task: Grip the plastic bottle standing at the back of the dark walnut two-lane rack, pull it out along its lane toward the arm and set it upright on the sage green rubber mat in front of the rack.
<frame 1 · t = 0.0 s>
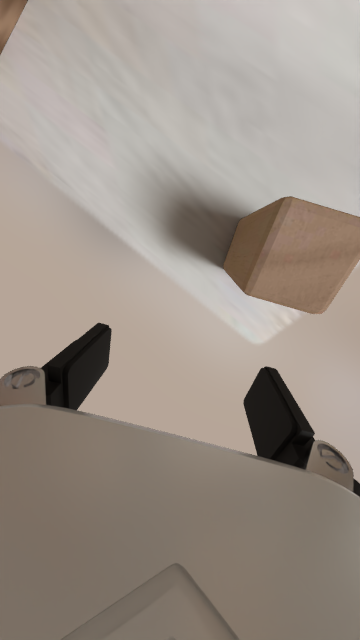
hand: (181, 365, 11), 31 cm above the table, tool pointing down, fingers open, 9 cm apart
block: (253, 251, 37), on the table
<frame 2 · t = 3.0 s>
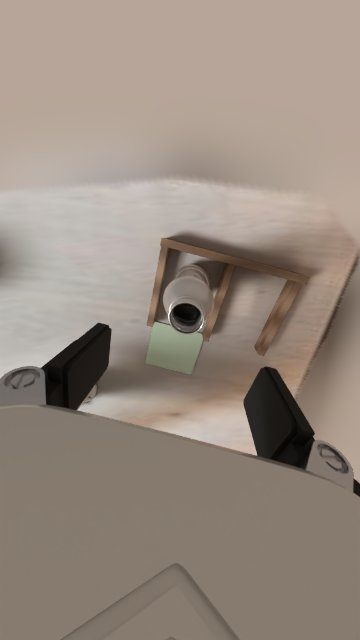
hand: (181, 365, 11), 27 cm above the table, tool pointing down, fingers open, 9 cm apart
plastic bottle: (192, 279, 36), on the table
bottle rack: (216, 301, 37), on the table
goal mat: (173, 349, 43), on the table
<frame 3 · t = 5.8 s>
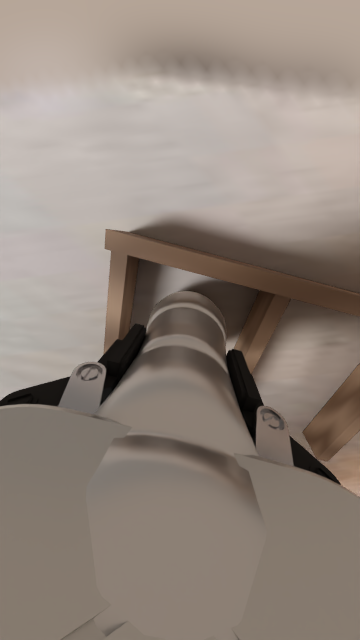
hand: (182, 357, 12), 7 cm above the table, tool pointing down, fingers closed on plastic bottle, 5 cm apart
plastic bottle: (188, 317, 18), on the table, touching gripper
bottle rack: (236, 357, 19), on the table
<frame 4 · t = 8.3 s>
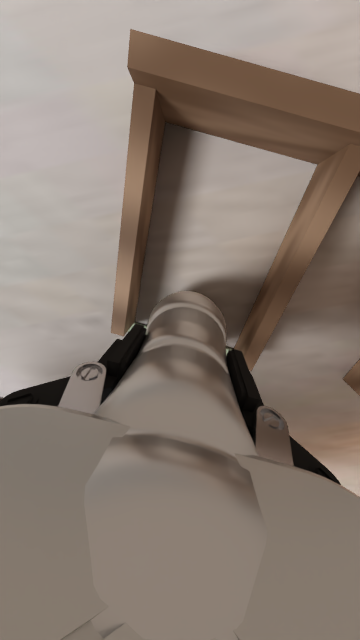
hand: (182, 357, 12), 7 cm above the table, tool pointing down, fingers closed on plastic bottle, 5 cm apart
plastic bottle: (188, 317, 18), on the table, touching gripper
bottle rack: (273, 278, 16), on the table
when the fingers open (7 cm above the table, at t = 10.9 s): plastic bottle stays where it is, resting on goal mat.
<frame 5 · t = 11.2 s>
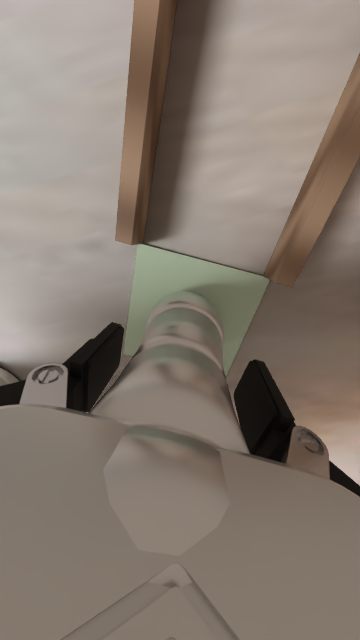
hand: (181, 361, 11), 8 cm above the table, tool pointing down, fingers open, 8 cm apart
plastic bottle: (187, 317, 18), resting on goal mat
bottle rack: (319, 166, 13), on the table
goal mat: (187, 320, 18), on the table
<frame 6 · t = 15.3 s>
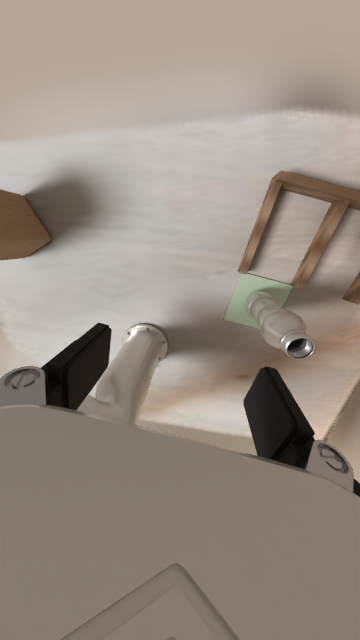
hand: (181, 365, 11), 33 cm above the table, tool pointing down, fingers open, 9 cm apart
plastic bottle: (256, 302, 42), resting on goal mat
bottle rack: (312, 248, 37), on the table
block: (25, 228, 41), on the table
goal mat: (256, 303, 43), on the table
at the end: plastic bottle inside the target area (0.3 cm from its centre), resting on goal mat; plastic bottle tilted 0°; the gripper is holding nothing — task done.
